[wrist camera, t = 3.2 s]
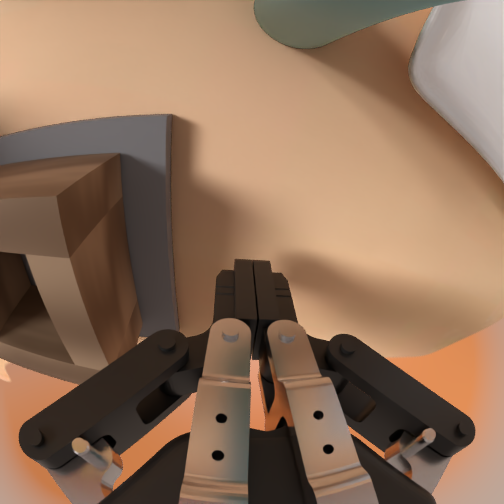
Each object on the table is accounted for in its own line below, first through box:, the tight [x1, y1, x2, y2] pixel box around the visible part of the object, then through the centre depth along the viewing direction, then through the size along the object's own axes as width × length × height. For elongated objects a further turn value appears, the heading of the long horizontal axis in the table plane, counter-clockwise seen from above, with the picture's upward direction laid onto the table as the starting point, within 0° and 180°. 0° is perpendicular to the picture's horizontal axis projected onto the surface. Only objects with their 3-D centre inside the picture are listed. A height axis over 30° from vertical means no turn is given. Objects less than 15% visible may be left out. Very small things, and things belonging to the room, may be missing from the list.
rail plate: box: [0, 114, 179, 337], centre depth 13 cm, size 13×20×1 cm, turn 84°
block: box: [0, 153, 143, 385], centre depth 10 cm, size 10×10×5 cm
